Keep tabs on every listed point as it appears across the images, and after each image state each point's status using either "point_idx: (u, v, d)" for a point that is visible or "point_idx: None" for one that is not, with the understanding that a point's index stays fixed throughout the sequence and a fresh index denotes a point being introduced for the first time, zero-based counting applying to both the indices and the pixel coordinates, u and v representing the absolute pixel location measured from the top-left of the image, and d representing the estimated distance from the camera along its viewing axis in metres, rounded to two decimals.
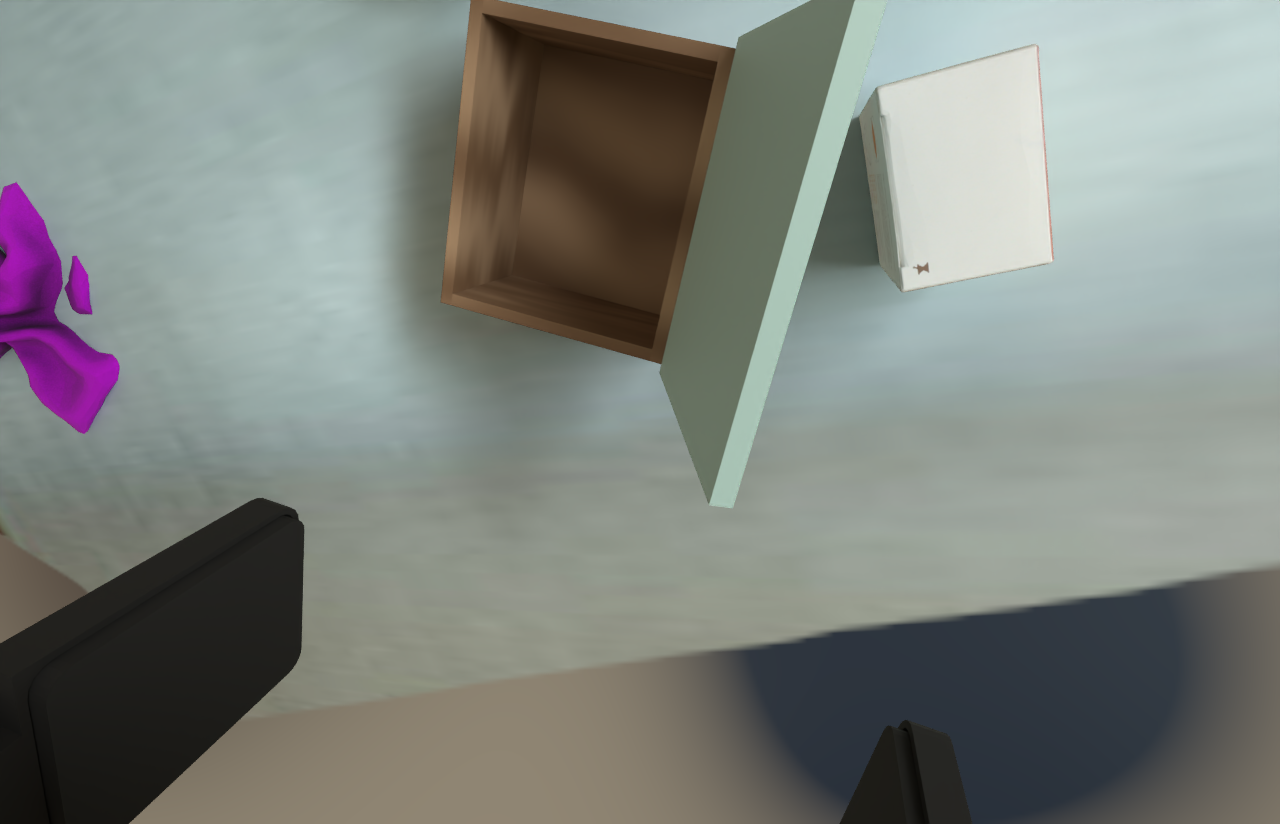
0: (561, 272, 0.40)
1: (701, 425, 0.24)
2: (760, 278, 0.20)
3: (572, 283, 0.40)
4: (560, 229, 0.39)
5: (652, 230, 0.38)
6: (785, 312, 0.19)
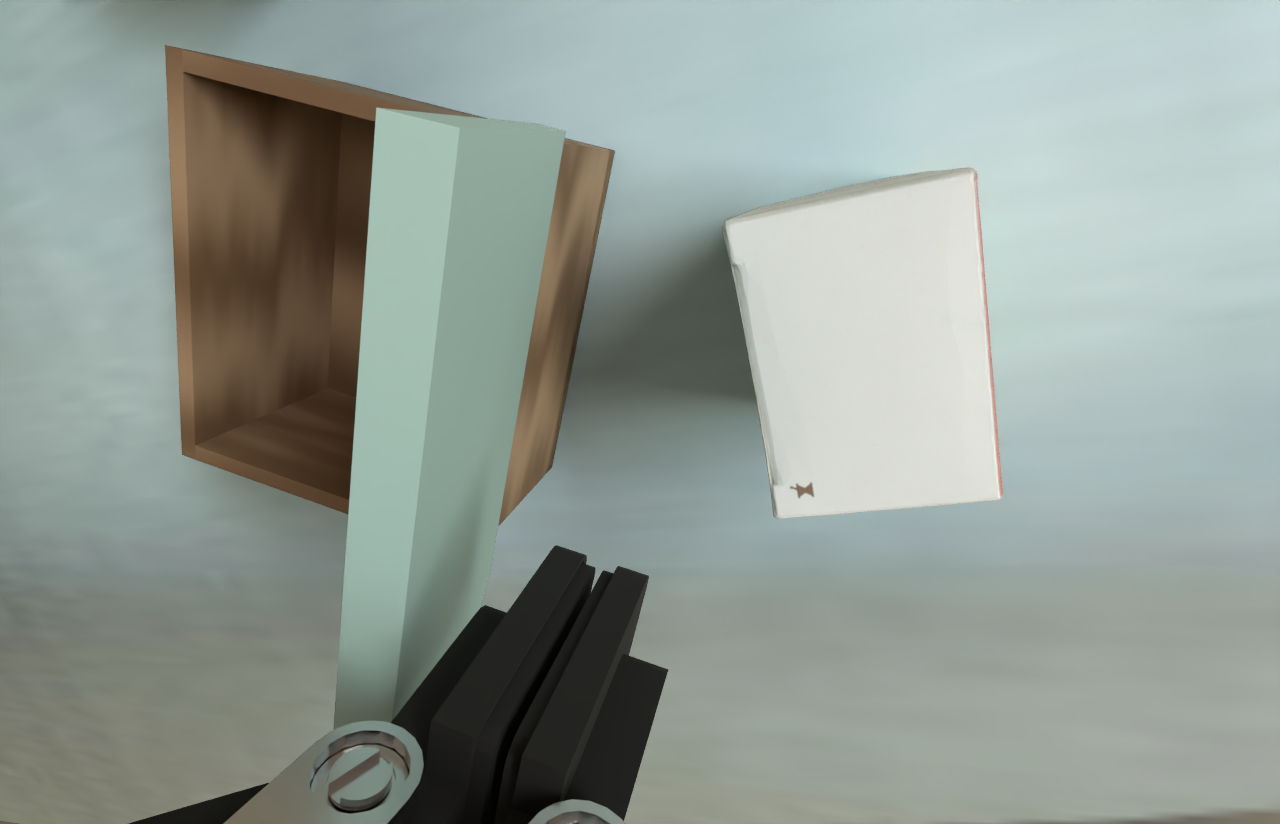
0: None
1: None
2: None
3: None
4: None
5: None
6: None
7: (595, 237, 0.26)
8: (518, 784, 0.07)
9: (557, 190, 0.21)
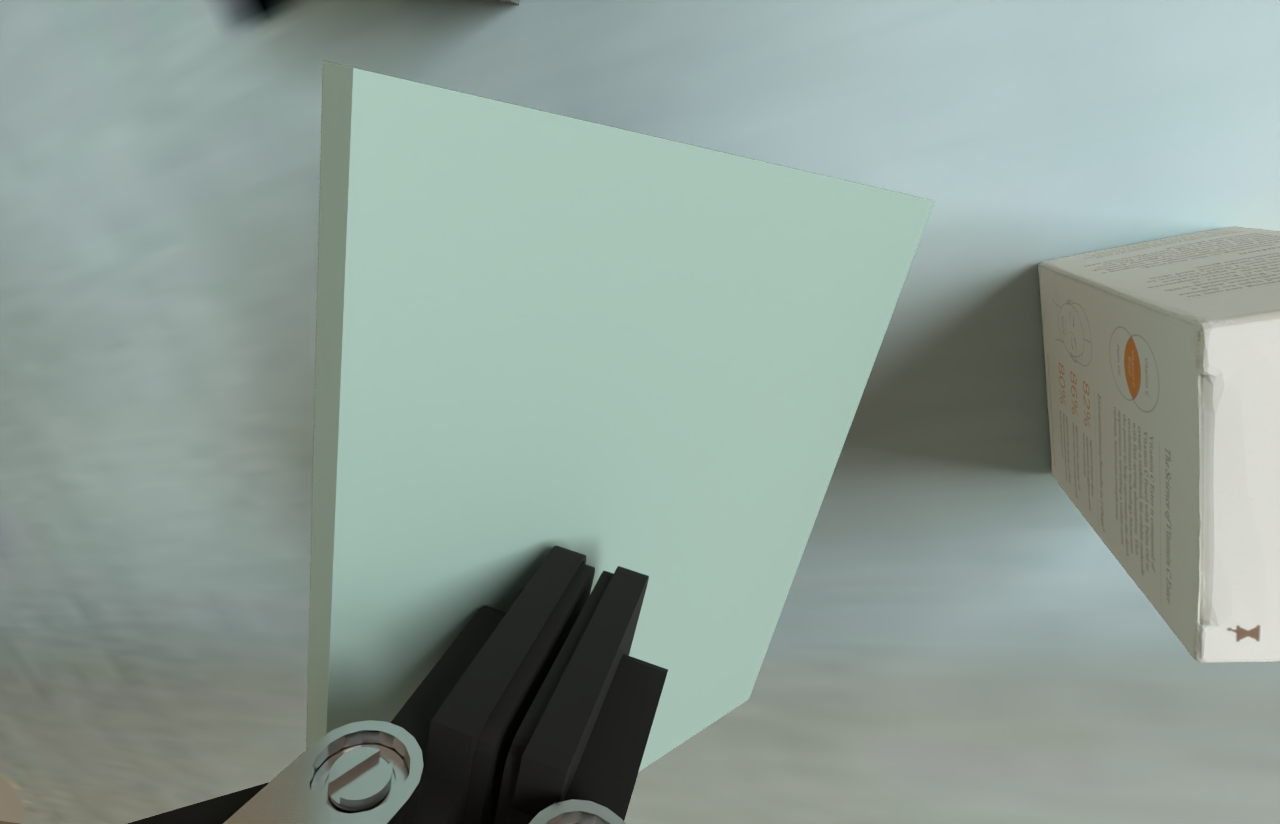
0: None
1: None
2: None
3: None
4: None
5: None
6: (322, 710, 0.09)
7: None
8: (518, 784, 0.07)
9: None
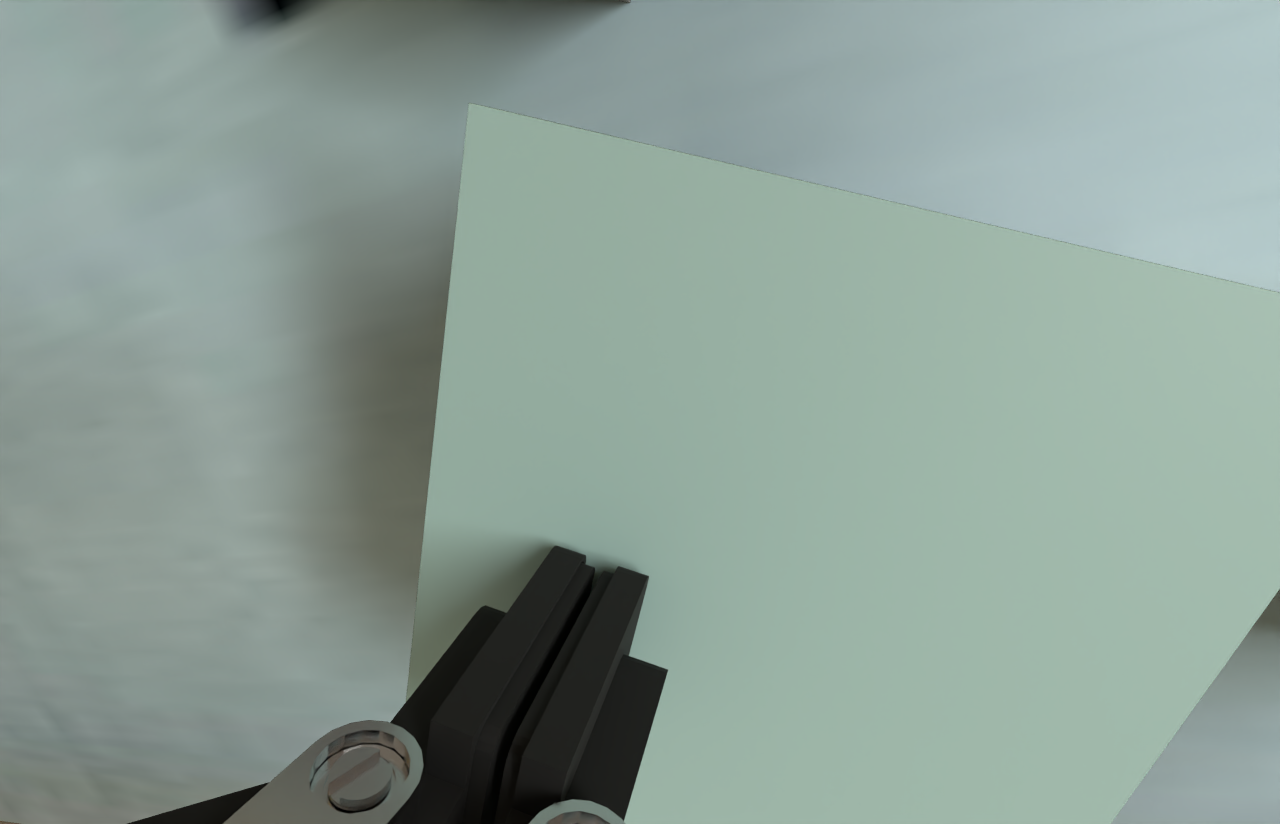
0: None
1: None
2: None
3: None
4: None
5: None
6: (420, 600, 0.12)
7: None
8: (518, 784, 0.07)
9: None
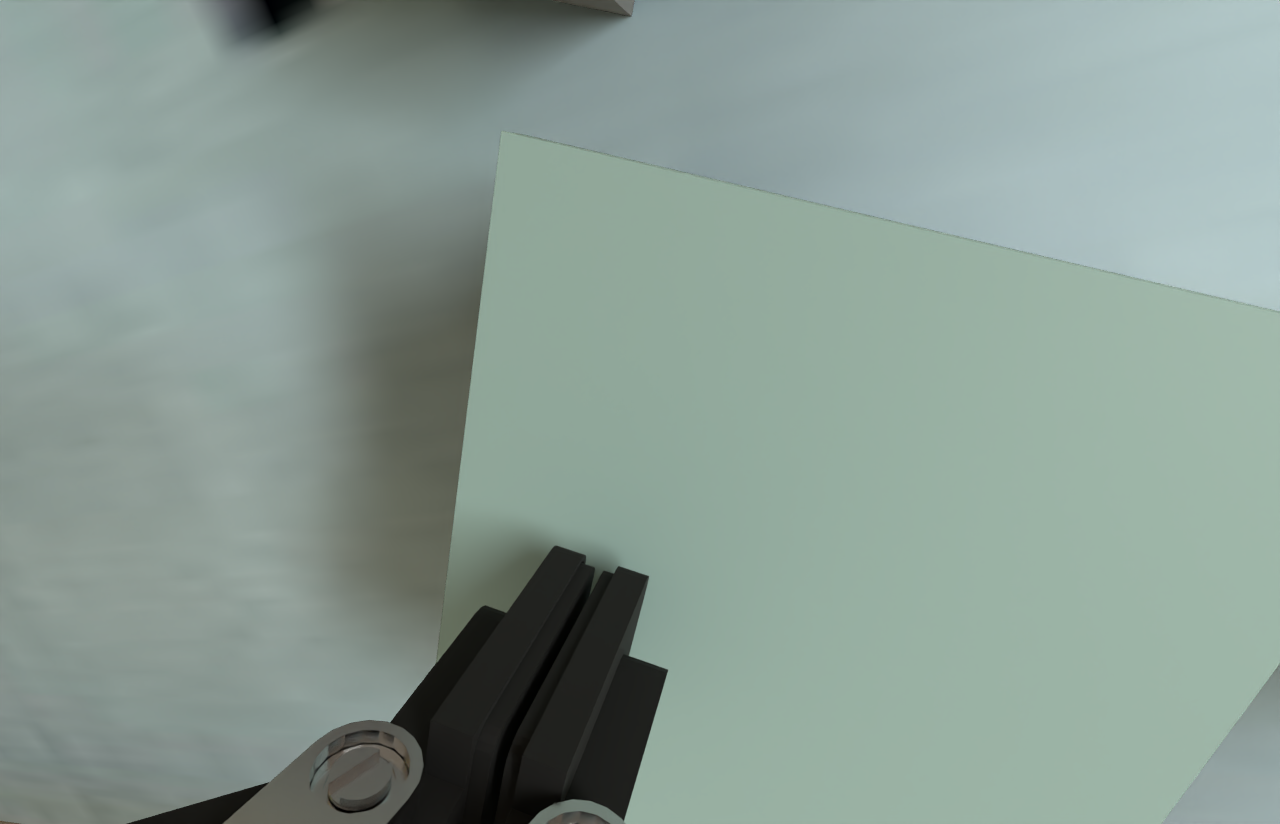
0: None
1: None
2: None
3: None
4: None
5: None
6: (449, 592, 0.13)
7: None
8: (518, 784, 0.07)
9: None
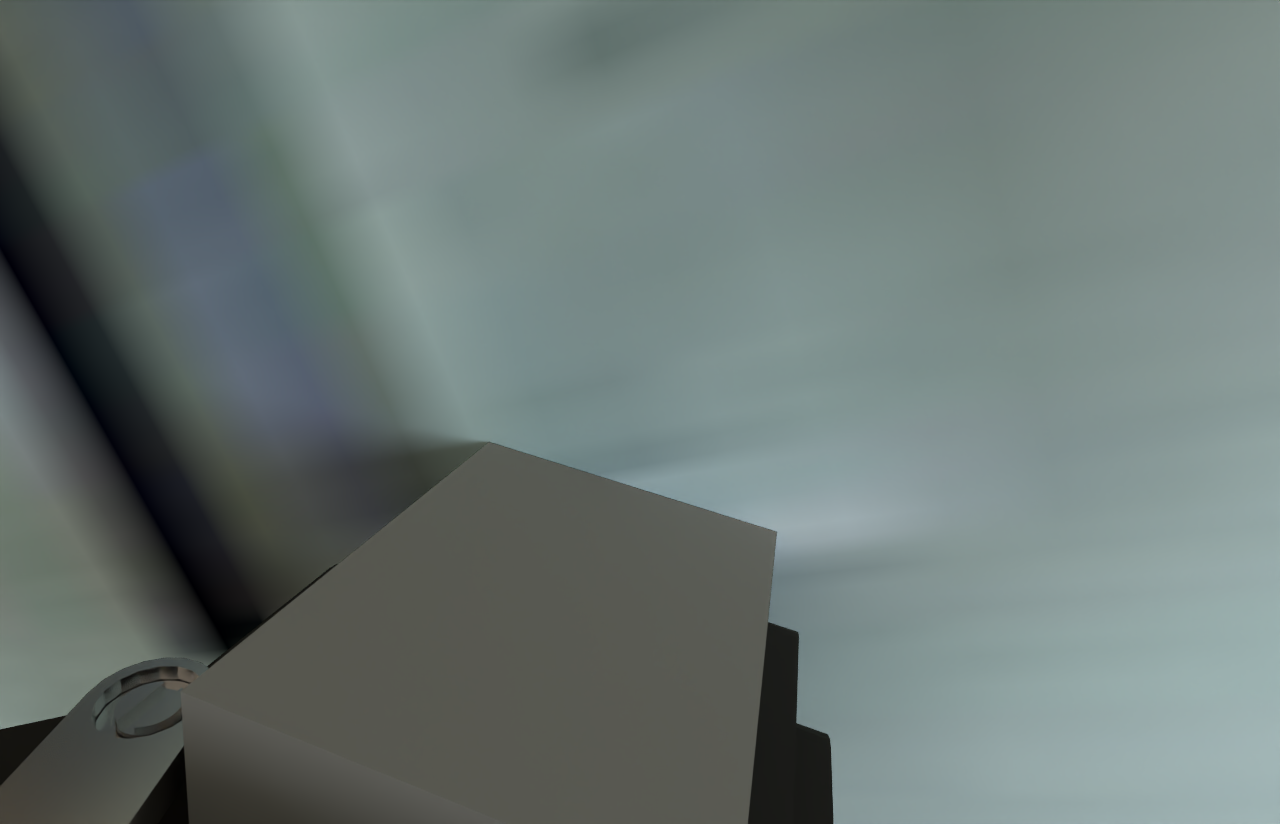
0: None
1: None
2: None
3: None
4: None
5: None
6: None
7: None
8: None
9: None
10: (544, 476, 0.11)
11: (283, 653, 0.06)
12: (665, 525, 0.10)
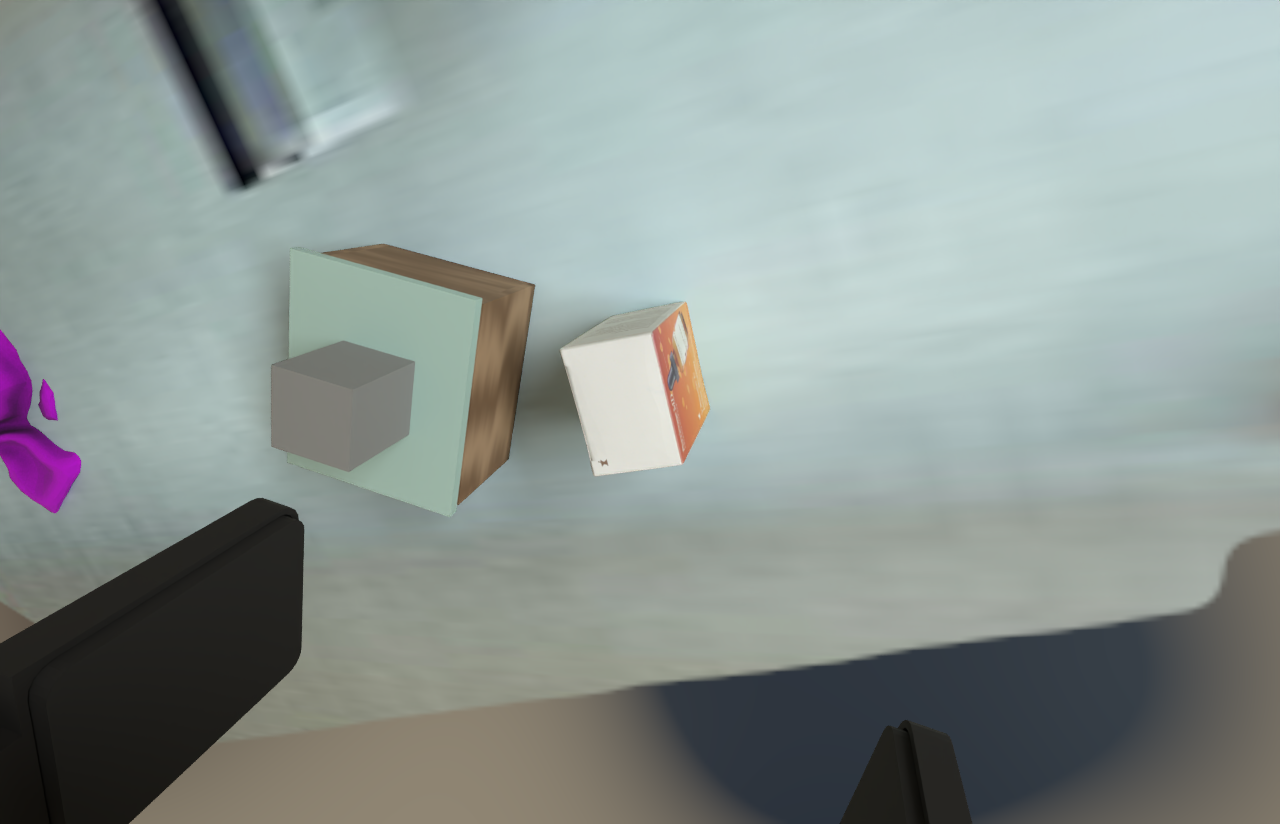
0: None
1: None
2: None
3: None
4: None
5: None
6: None
7: (526, 330, 0.48)
8: None
9: (498, 318, 0.42)
10: (355, 347, 0.41)
11: (287, 363, 0.36)
12: (382, 357, 0.40)
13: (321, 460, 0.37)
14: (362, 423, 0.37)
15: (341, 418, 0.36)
